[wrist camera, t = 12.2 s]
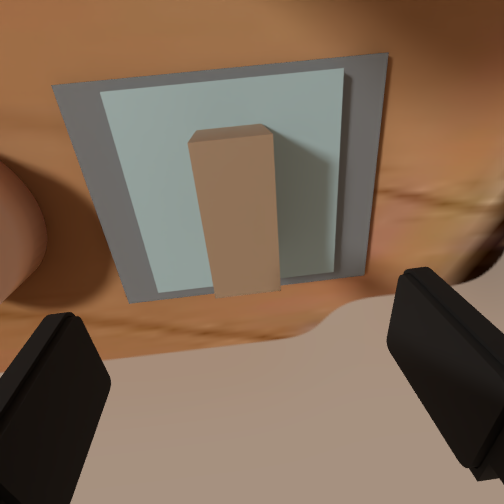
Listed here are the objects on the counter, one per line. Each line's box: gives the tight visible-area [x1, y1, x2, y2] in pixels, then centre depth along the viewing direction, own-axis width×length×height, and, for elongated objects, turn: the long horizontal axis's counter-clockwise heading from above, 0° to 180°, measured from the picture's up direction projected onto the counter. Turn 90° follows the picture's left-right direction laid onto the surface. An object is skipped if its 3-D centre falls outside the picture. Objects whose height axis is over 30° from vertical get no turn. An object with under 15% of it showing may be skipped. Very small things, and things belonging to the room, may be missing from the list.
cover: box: [100, 68, 344, 298], centre depth 19 cm, size 14×14×6 cm
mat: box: [51, 52, 389, 304], centre depth 22 cm, size 20×16×1 cm
